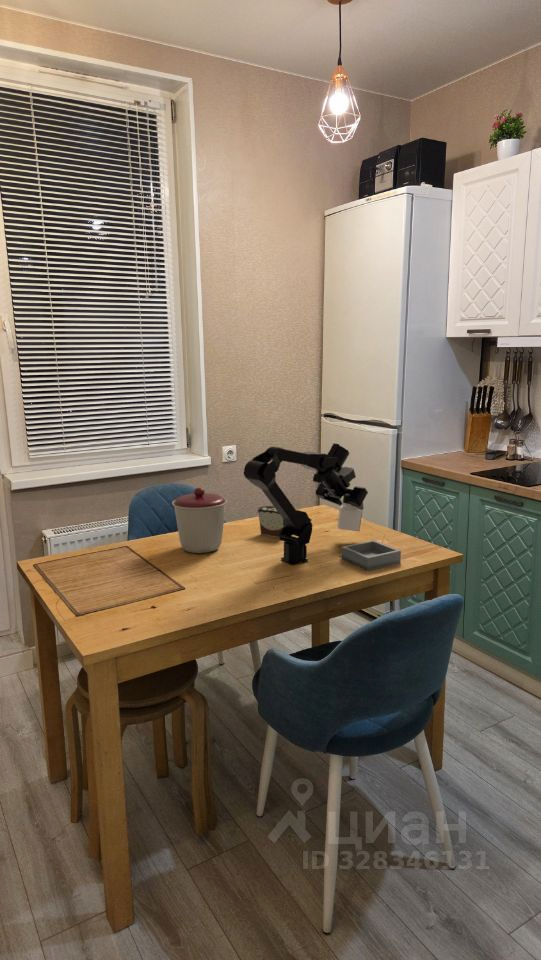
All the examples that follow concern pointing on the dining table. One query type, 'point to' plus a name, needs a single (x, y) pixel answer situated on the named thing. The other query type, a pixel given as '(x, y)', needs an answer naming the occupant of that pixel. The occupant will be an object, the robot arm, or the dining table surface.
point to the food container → (270, 521)
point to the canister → (200, 520)
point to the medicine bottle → (349, 516)
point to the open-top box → (371, 555)
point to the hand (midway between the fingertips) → (351, 506)
